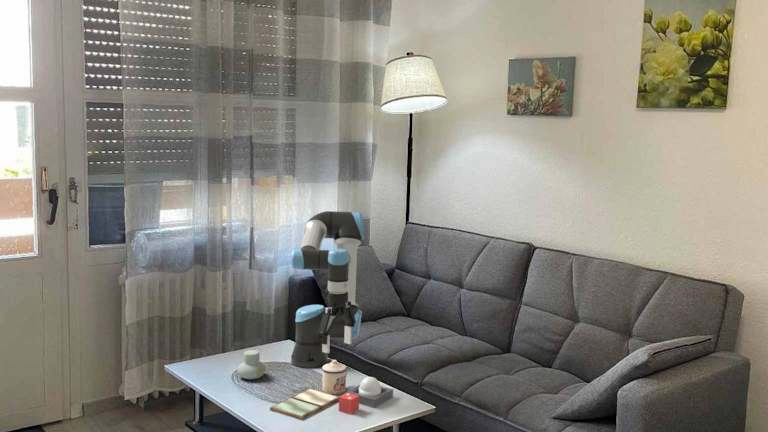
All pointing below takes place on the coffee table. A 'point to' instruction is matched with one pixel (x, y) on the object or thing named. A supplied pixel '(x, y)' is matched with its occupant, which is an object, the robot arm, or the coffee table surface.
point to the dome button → (370, 387)
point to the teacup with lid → (334, 378)
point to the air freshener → (251, 366)
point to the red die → (349, 403)
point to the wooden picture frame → (305, 403)
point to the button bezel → (370, 401)
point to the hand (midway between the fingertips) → (337, 347)
